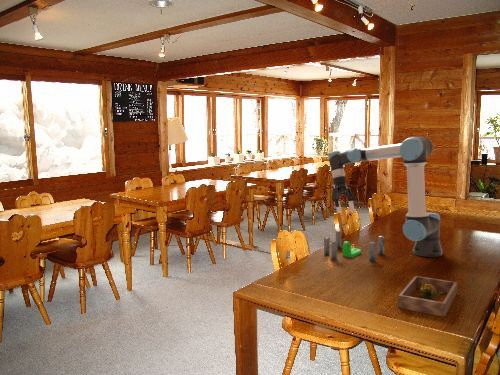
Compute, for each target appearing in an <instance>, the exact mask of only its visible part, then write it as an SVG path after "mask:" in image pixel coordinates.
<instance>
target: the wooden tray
mask: <svg viewBox="0 0 500 375" xmlns="http://www.w3.org/2000/svg"><path fill="white" fill-rule="evenodd" d="M420 282H421V283H422V284H423V283H424V284H428V283H429V284H431V285H432V284H433V285H432V286H435V289H437V290H436V292H437V291H438V292H439V291H441V292H442V293H446V294H447V295H446V296H445V299H444V300H443V301H437V300H436V301H434V300H433V301H432V300H429V299H428V300H426V299H424V298H421V299H420V297H413V296H412V295H413V293H414V292H415V291H416V289H421V286H420V285H422V284H421V283H420ZM457 289H458V282H457V281H452V280H451V281H450V280H445V279H438V278H433V277H432V278H431V277H426V276H419V275H415V276H413V278H411V280H410V281H409V282H408V283H407V285H406V286H405V287H404V288H403V289H402V291H401V292H400V293H399V294H398V302H397V303H398V305H397V306H398V307H397V308H398V309H404V310H408V311H412V312H413V311H414V312H419V313H424V314H429V315H434V316H439V317H443V318H444V317H446V315H447V313H448V311H449V310H450V308H451V305H452V303H453V302H454V300H455V299H456V296H457V293H458V290H457Z"/></svg>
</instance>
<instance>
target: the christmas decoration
mask: <svg viewBox="0 0 500 375" xmlns="http://www.w3.org/2000/svg"><path fill="white" fill-rule="evenodd" d="M420 283H421V282H420ZM421 284H422V283H421ZM432 285H433V284H432ZM432 285H431V284H429V283H428V284H424V283H423V284H422V285H420V286H421V288H418V289H419V290H416V289H415V291H416V292H418V293H419V294H418V295H417V298H420V299H426V300H431V301H437V300H438V299H439V300H440V294H443V292H441V291H436V290H437V289H435V286H432Z"/></svg>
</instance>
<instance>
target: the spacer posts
mask: <svg viewBox="0 0 500 375" xmlns="http://www.w3.org/2000/svg"><path fill="white" fill-rule="evenodd" d="M330 243H331V244H330ZM368 244H369V246H368V247H369V248H368V251H369V252H368V261H369V262H371V263H372V262H373V263H375V262H376V251H377V254H378V255H380V256H381V255H382V256H383V255H385V235H378V236H377V243H376V242H375V241H369V243H368ZM376 244H377V250H376ZM338 249H342V231H341V230H335V240H332V241H331V238H330V237H328V236H325V237H323V256H324V257H330V256H331V259H330V260H331V261H333V262H335V261H338ZM330 251H331V252H330Z"/></svg>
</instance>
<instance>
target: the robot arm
mask: <svg viewBox="0 0 500 375" xmlns="http://www.w3.org/2000/svg"><path fill="white" fill-rule="evenodd" d="M433 151H434V144H433V141H431V139H429V138H428V137H426V136H411V137H408V138H406V139H404V140H403V141H401V143H396V144H389V145H387V144H386V145H381V146H375V147H373V146H372V147H367V148H356V147H354V148H350V149H348V150H345V151H343V152H341V151H340V150H334V151H331V152H329V153H328V154H327V156H328V163H329V167H330V172H331V177H332V178H333V179H332V181H333V185H332V192H331V193H332V195H331V201H332V203H334V204H335V208H336V213H337V214H340V213H342V212H343V210H342V206H341V201H340V197H341V194H343V195H344V196H345V197H346V199H347V200H348V207H349V211H350V213H354V212H356V209H355V205H354V201H355V200H356V198H355V196H354V193H353V192H352V190H351V188H350V185H349V184H346V183H347V177H346V173H345V169H344V168H345V167H344V166H345V165H350V164H354V163H361V162H362V163H363V162H370V161H376V160H377V161H378V160H386V159H387V160H388V159H394V158H395V159H396V158H402V159H403V160H402V163H403V165H404V166H406V184H407V188H406V189H407V205H408V206H407V208H408V209H407V210H408V211H407V213H406V214H405V222H404V224H403V225H402V233H403V235H404V236H405V237H406V238H407V240H409V241H412V242H414V246H413V248H412V253H413V254H414V255H416V256H419V257H424V258H437V257H442V256H443V248H442V246H441V242H440V233H441V232H440V231H441V230H440V229H441V216H440V214H438V213H436V212H428V211H427V208H426V207H427V206H426V205H427V204H426V183H425V182H426V181H425V178H426V177H425V165H427V163H428V157H429V156H430V155H431V154H433Z"/></svg>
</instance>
